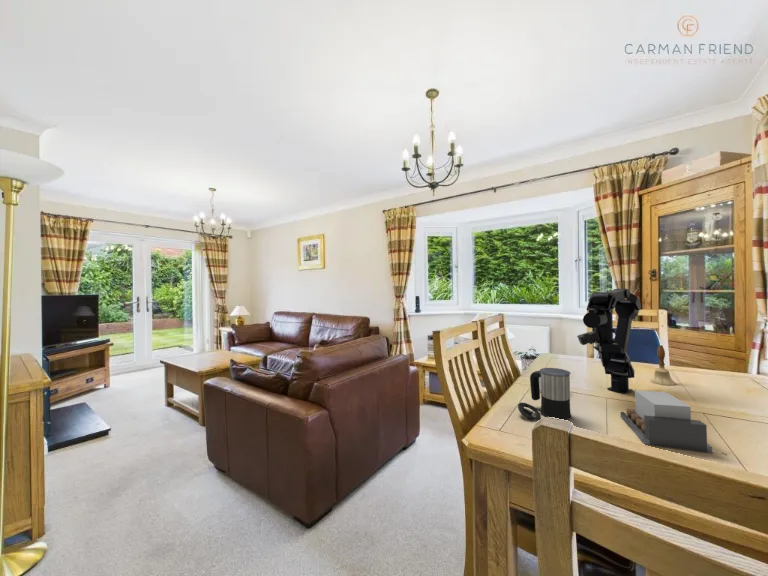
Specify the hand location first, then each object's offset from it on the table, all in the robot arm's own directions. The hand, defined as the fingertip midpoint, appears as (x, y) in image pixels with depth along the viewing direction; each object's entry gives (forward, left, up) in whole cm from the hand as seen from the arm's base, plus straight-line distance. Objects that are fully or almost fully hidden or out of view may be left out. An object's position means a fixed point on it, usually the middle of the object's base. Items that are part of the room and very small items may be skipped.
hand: (604, 366), depth 120 cm
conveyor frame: (+15, +23, -12) cm, 30 cm away
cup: (+10, -15, -12) cm, 22 cm away
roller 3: (+15, +23, -12) cm, 30 cm away
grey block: (+15, +23, -9) cm, 29 cm away
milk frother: (+32, -2, -12) cm, 35 cm away
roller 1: (+9, +18, -12) cm, 23 cm away
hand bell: (-39, +2, -12) cm, 41 cm away
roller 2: (+12, +20, -12) cm, 26 cm away
